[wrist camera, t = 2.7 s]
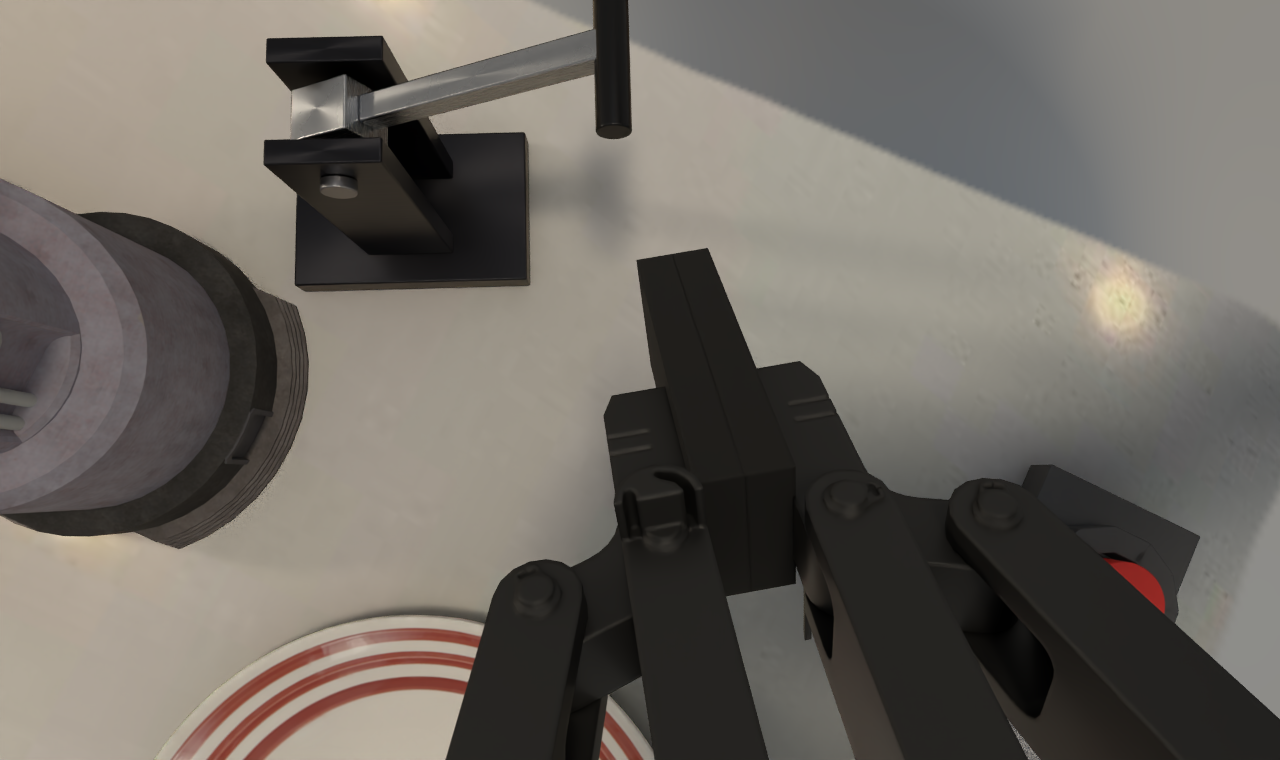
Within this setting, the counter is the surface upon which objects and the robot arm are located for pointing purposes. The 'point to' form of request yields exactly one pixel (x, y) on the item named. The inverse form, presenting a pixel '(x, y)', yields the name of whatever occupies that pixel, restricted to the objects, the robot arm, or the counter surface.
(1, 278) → the grey piece
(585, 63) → the lever
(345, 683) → the dinner plate
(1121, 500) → the button block
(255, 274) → the counter surface
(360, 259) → the bracket
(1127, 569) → the button
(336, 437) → the counter surface
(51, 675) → the counter surface
